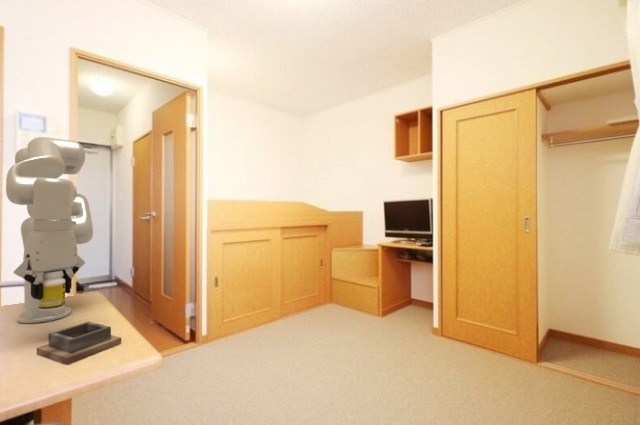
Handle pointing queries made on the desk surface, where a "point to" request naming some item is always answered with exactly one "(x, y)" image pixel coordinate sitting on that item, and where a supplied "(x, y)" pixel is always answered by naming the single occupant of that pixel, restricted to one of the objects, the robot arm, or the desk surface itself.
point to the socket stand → (78, 342)
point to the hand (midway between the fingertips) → (51, 294)
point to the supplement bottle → (52, 291)
